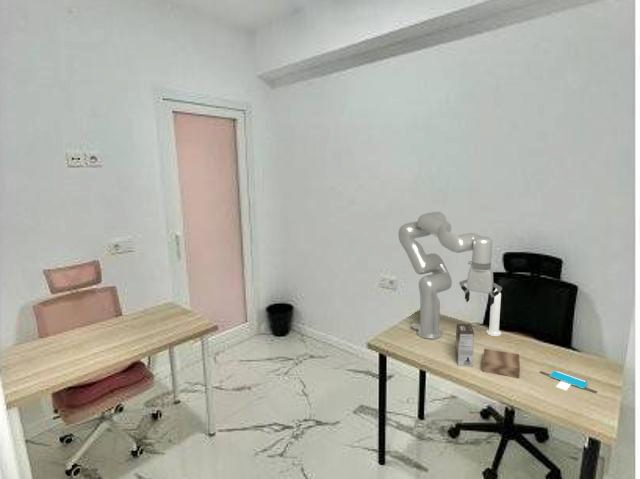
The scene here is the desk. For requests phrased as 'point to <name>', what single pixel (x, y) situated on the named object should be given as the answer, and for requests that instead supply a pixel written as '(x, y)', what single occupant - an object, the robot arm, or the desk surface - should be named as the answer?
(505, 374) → the walnut block
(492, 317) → the candle
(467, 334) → the coffee box
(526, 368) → the desk surface
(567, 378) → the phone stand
